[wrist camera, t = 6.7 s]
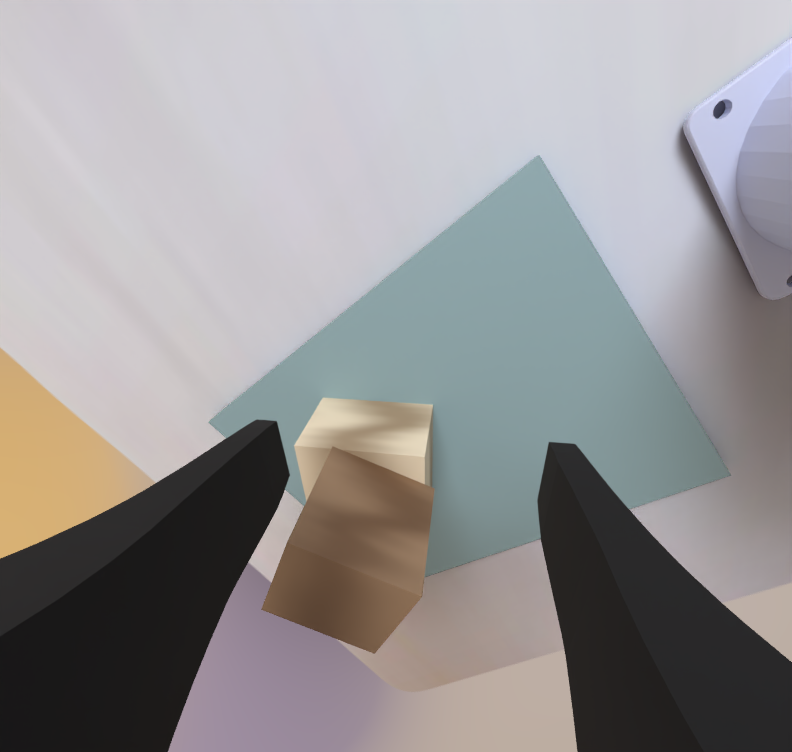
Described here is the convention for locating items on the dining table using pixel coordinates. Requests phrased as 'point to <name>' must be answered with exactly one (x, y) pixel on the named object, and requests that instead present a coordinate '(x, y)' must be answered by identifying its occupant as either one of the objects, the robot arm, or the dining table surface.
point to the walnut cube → (355, 553)
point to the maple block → (368, 437)
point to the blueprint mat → (499, 372)
